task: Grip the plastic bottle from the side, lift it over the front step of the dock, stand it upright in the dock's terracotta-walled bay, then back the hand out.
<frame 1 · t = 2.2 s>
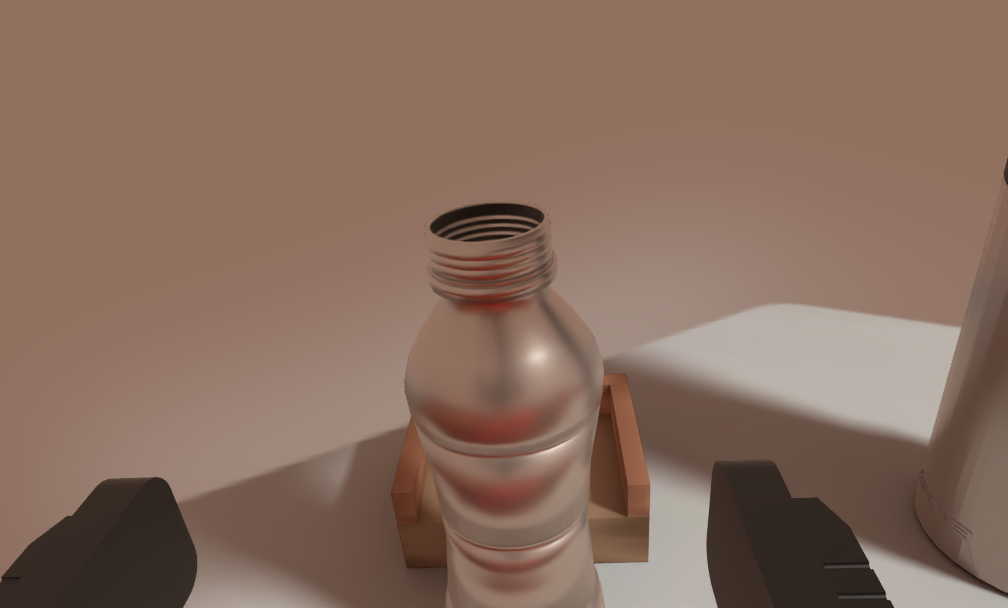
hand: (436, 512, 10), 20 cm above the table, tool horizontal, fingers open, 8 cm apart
dock: (526, 498, 37), on the table
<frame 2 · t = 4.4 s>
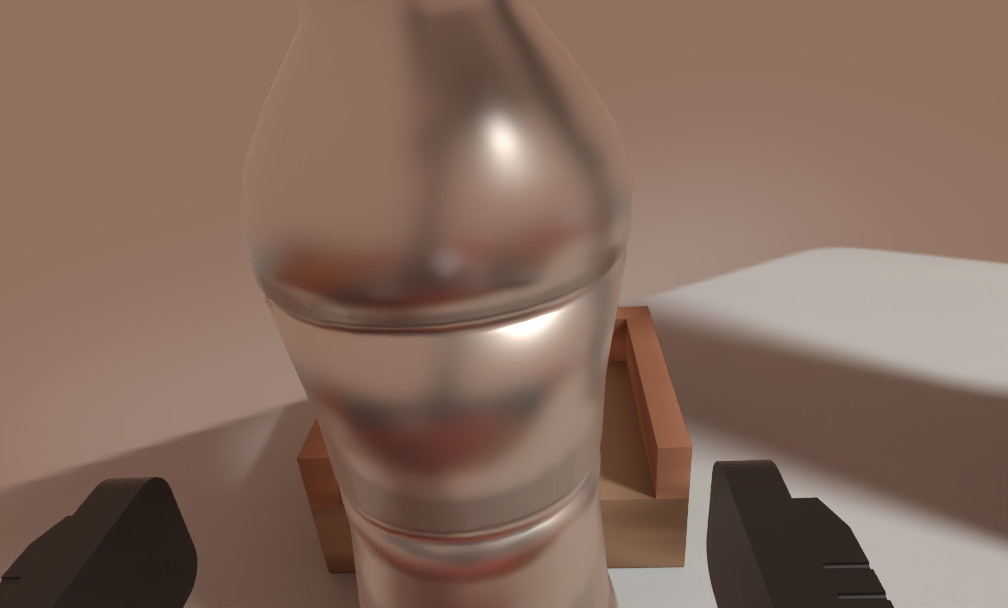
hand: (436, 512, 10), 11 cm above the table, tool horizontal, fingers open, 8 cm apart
dock: (508, 477, 26), on the table
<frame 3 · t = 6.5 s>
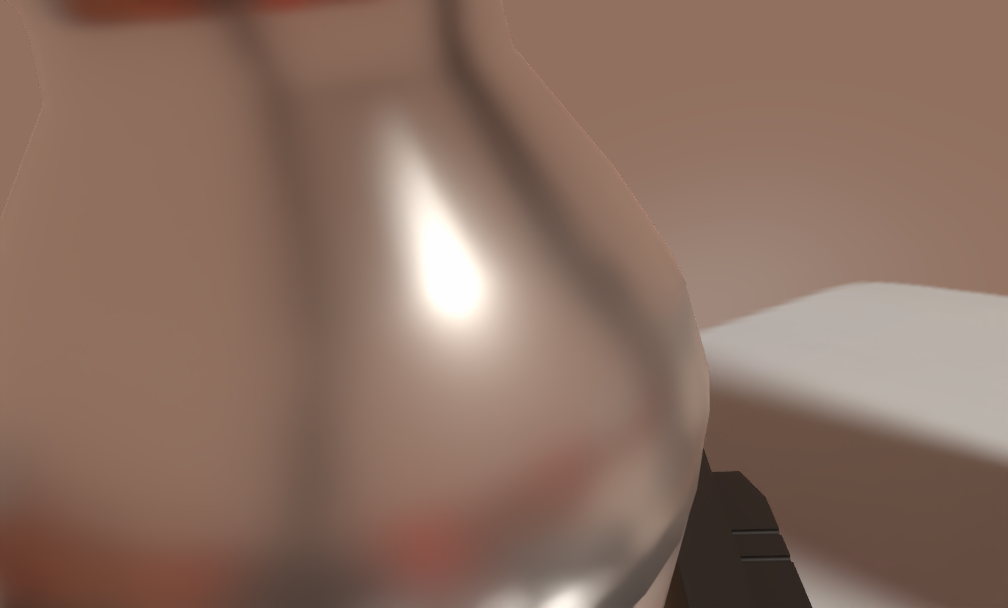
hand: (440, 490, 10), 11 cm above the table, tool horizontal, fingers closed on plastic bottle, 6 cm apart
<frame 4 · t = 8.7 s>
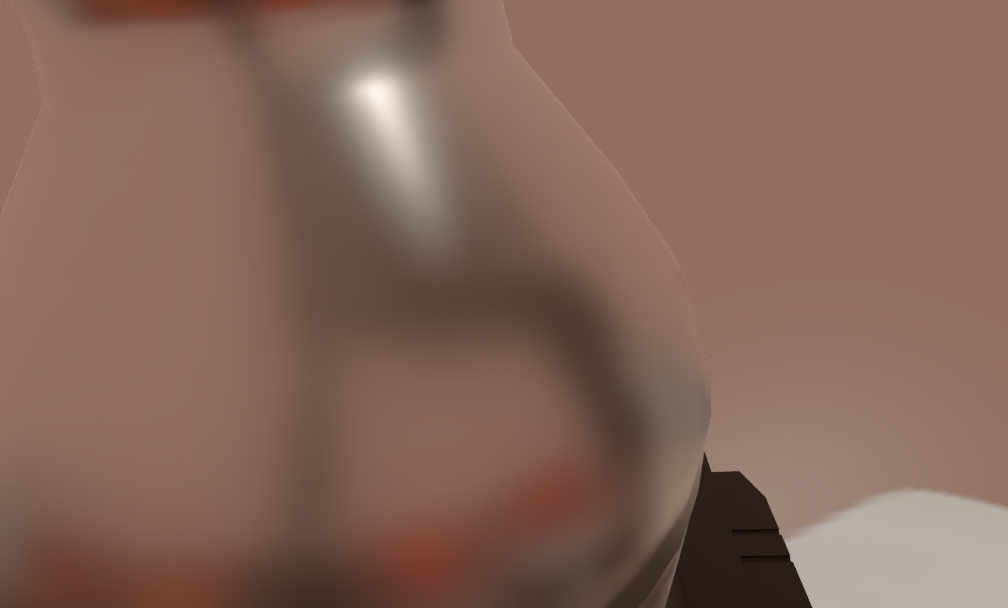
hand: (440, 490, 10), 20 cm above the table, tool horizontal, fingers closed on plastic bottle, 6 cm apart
when the fingers open (15 cm above the table, at t = 10.9 s): plastic bottle stays where it is, resting on dock.
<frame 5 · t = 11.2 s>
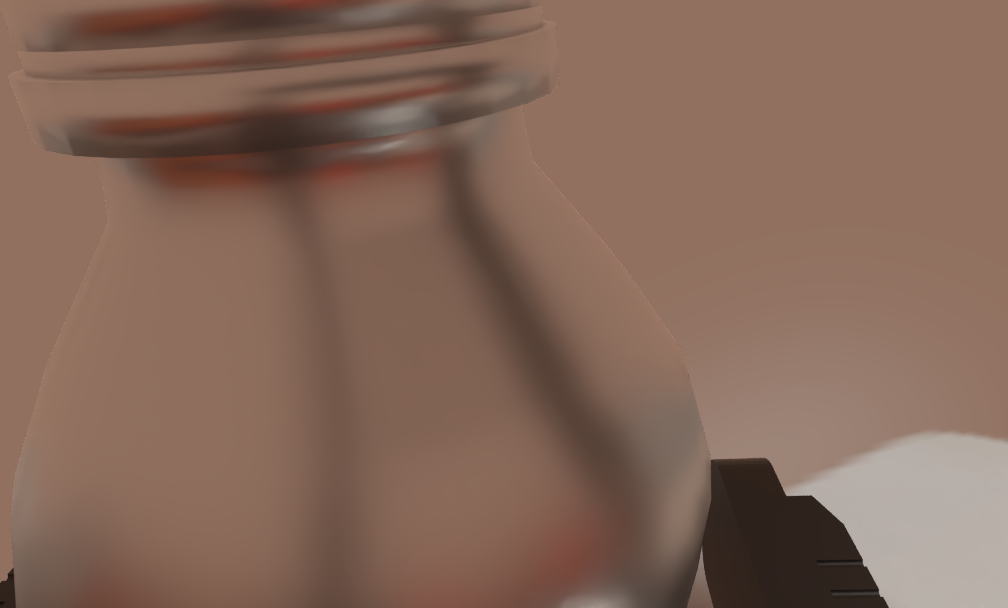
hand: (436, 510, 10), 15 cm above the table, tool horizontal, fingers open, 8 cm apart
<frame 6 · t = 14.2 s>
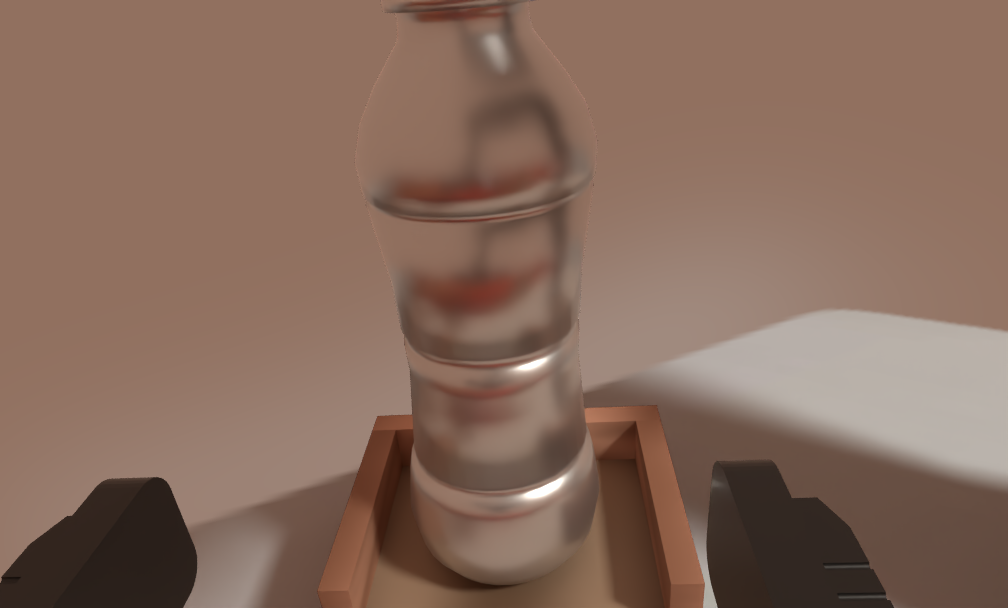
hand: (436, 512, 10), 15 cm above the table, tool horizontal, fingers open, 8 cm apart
dock: (520, 578, 27), on the table
plastic bottle: (510, 541, 25), point 3 cm above the table, touching dock
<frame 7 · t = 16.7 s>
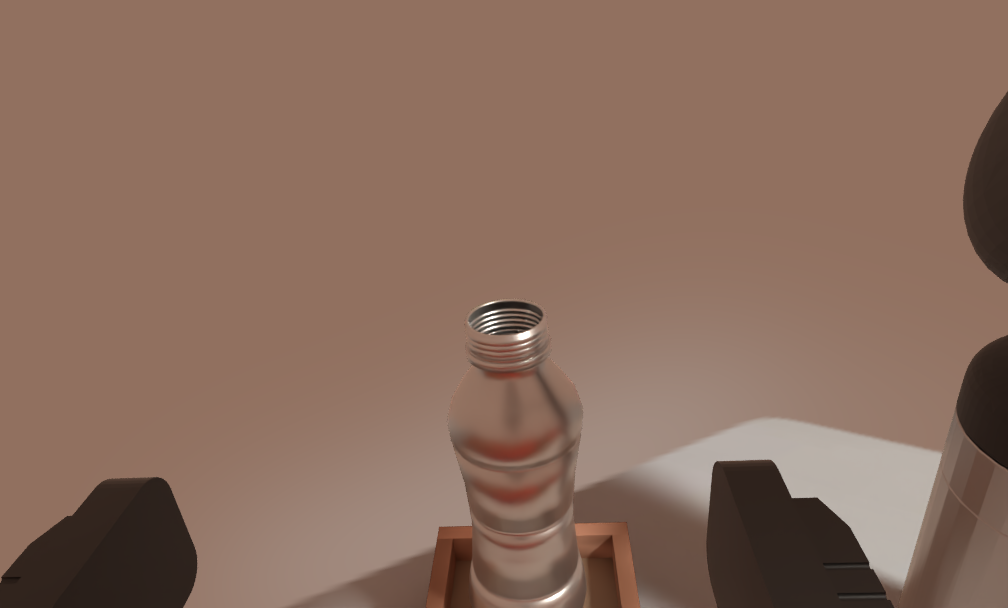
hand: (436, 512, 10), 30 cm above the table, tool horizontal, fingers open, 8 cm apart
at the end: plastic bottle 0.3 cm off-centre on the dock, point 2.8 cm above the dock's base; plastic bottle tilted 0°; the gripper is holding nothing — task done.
